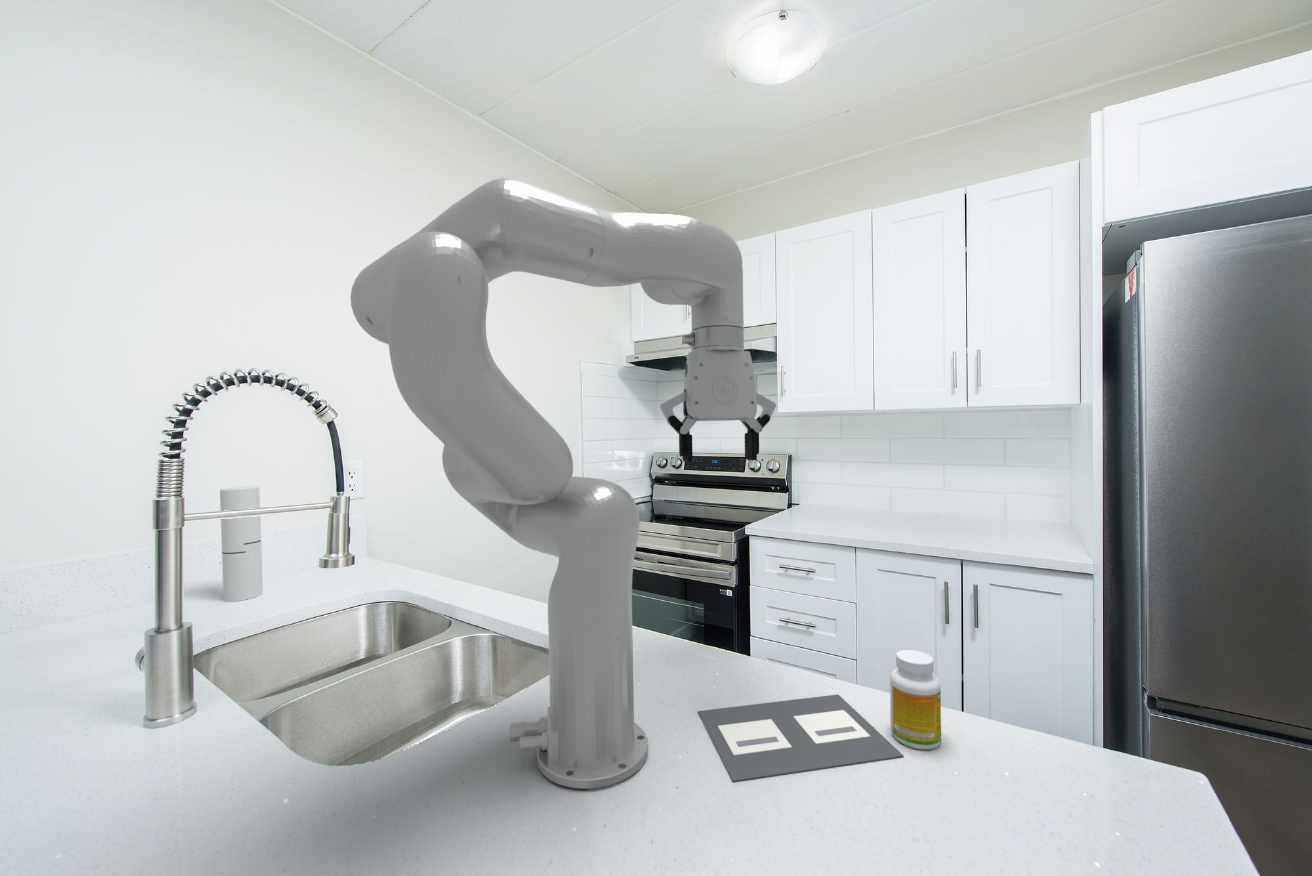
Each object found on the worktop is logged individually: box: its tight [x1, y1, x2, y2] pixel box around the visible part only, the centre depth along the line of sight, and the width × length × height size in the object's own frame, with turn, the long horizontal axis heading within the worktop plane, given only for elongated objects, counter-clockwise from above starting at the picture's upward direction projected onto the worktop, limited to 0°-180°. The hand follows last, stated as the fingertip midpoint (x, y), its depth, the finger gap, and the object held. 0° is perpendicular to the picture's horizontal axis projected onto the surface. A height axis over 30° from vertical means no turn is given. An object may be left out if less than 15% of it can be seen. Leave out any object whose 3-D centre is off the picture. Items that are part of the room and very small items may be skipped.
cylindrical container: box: [219, 486, 264, 602], centre depth 123 cm, size 7×7×25 cm
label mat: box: [697, 693, 905, 783], centre depth 65 cm, size 20×14×1 cm
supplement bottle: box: [889, 649, 942, 751], centre depth 63 cm, size 5×5×10 cm
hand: (719, 460), depth 78 cm, fingers open, 9 cm apart
